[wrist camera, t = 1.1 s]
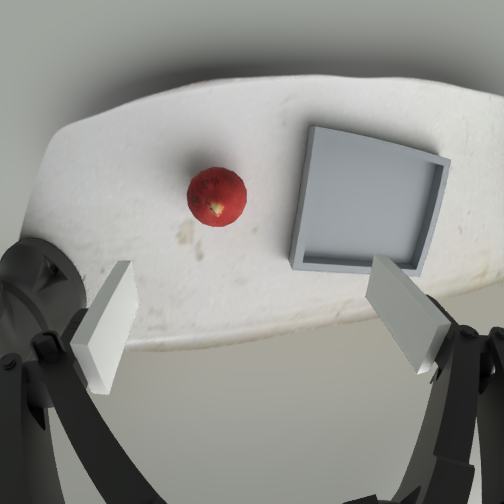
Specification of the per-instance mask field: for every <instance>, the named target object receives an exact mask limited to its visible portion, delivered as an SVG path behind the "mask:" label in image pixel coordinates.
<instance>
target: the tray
mask: <svg viewBox="0 0 504 504" xmlns="http://www.w3.org/2000/svg"><path fill="white" fill-rule="evenodd" d="M450 163H451V160H450V159H447V158H444V157H441V156H437V155H434V154H431V153H428V152H424V151H421V150H417V149H414V148H410V147H407V146H403V145H399V144H395V143H392V142H388V141H384V140H379V139H375V138H371V137H367V136H362V135H358V134H353V133H348V132H343V131H338V130H333V129H327V128H322V127H316V126H309V133H308V140H307V147H306V154H305V161H304V168H303V175H302V182H301V188H300V195H299V201H298V207H297V214H296V220H295V226H294V232H293V238H292V244H291V250H290V256H289V262H290V265H291V268H292V270H301V271H317V272H335V273H352V274H370V273H371V269H372V264H373V258H374V255H387V256H388V257H389V258H390V259H391V260H392V261H393V262H394V263H395V264H396V265H397V266H398V267H399V268H400V269H401V270H402V271H403V272H404V273H405V274H406V275H407V276H411V277H420V274H421V272H422V269H423V266H424V263H425V260H426V257H427V253H428V250H429V247H430V244H431V241H432V237H433V234H434V230H435V227H436V223H437V220H438V216H439V212H440V208H441V204H442V200H443V196H444V192H445V187H446V183H447V178H448V173H449V168H450Z"/></svg>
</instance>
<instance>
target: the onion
mask: <svg viewBox="0 0 504 504" xmlns="http://www.w3.org/2000/svg"><path fill="white" fill-rule="evenodd" d="M187 201H188V207H189V209H190V210H191V212H192V214H193V215H194V217H195V218H196V219H198V220H199V221H200V222H201V223H203V224H205V225H209V226H212V227H224V226H226V225H228V224H230V223H233V222H234V221H235V220H236V219H237V218H238V217H239V216H240V215H241V214H242V212H243V210H244V207H245V205H246V202H247V190H246V188H245V185H244V183H243V180H242V179H241V178H240V177H239V176H238V175H237V174H236V173H235V172H233V171H230V170H228V169H225V168H218V167H212V168H209V169H206V170H204V171H201V172H200V173H199V174H198V175H197V176H195V177H194V178H193V179H192V180H191V183H190V185H189V188H188V191H187Z"/></svg>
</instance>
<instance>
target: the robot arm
mask: <svg viewBox="0 0 504 504" xmlns="http://www.w3.org/2000/svg"><path fill="white" fill-rule="evenodd" d="M365 297H366V298H367V300H368V301H369V302H370V304H371V305H372V307H373V308H374V310H375V311H376V313H377V314H378V315H379V317H380V318H381V320H382V321H383V323H384V324H385V326H386V327H387V329H388V330H389V332H390V333H391V335H392V336H393V338H394V339H395V341H396V342H397V344H398V345H399V347H400V348H401V350H402V351H403V353H404V354H405V356H406V357H407V359H408V361H409V362H410V364H411V365H412V367H413V368H414V370H415V372H416V373H417V374H419V373H423V372H427V371H430V369H431V367H432V365H433V363H434V361H435V362H436V363H437V365H438V368H437V370H436V372H435V374H434V376H433V378H432V379H431V381H430V384H431V383H432V382H433V385H432V389H431V394H430V398H429V401H428V405H427V409H426V413H425V416H424V420H423V423H422V426H421V430H420V433H419V436H418V440H417V442H416V445H415V448H414V451H413V454H412V457H411V459H410V462H409V465H408V467H407V470H406V473H405V475H404V478H403V480H402V483H401V485H400V487H399V489H398V491H397V492H396V494H395V495H394V497H393V498H392V500H391V501H387V500H377V497H376V494H375V495H371V496H367V497H364V498H360V499H357V500H352V501H348V502H345V503H343V504H467V502H468V499H469V495H470V491H471V487H472V482H473V478H474V472H475V468H474V465H470V464H469V458H470V453H471V447H472V442H473V436H474V428H475V420H476V417H477V424H478V433H479V443H480V454H481V455H480V456H481V475H482V504H504V328H500V327H493V328H492V329H491V331H490V333H489V335H488V336H487V335H479V334H478V332H477V331H476V330H475V329H473V328H472V327H470V326H467V325H459V324H458V323H457V322H456V321H455V320H454V319H453V318H452V317H451V316H450V315H449V313H447V311H445V309H444V308H443V307H441V305H440V304H439V303H438V302H437V301H436V300H435V299H434V298H432V297H431V296H429V295H425V294H424V293H423V292H422V291H421V290H420V289H419V288H418V287H417V286H416V284H415V283H414V282H413V281H412V280H411V279H410V278H409V277H408V276H407V275H406V274H405V273H404V272H403V271H402V270H401V269H400V268H399V267H398V266H397V265H396V264H395V263H394V262H393V261H392V260H391V259H390V258H389V257H388V256H387V255H374V258H373V264H372V269H371V273H370V278H369V283H368V287H367V292H366V296H365ZM139 305H140V304H139V299H138V294H137V289H136V283H135V278H134V272H133V266H132V261H118V262H117V264H116V265H115V267H114V268H113V270H112V271H111V273H110V275H109V276H108V278H107V279H106V281H105V283H104V284H103V286H102V288H101V289H100V291H99V292H98V294H97V296H96V298H95V299H94V301H93V303H92V304H91V306H90V308H86V292H85V288H84V285H83V282H82V279H81V277H80V275H79V273H78V271H77V270H76V268H75V267H74V265H73V264H72V262H71V261H70V260H69V259H68V258H67V257H66V255H65V254H63V253H62V252H61V251H60V250H59V249H58V248H56V247H55V246H53V245H52V244H50V243H48V242H46V241H44V240H41V239H36V238H26V239H22V240H20V241H18V242H16V243H15V244H14V245H13V246H11V247H10V248H9V249H8V250H7V251H6V252H5V253H4V255H3V256H2V258H1V260H0V504H65V501H64V498H63V494H62V490H61V486H60V481H59V477H58V472H57V468H56V462H55V457H54V452H53V446H52V439H51V433H50V425H49V416H48V408H51V407H55V410H56V412H57V414H58V417H59V419H60V421H61V423H62V425H63V427H64V430H65V431H66V434H67V435H68V438H69V440H70V442H71V444H72V446H73V448H74V450H75V451H76V453H77V455H78V457H79V459H80V461H81V462H82V464H83V466H84V468H85V470H86V471H87V473H88V475H89V477H90V478H91V480H92V482H93V483H94V485H95V486H96V488H97V490H98V491H99V493H100V494H101V496H102V497H103V499H104V500H105V502H106V503H107V504H167V503H166V502H165V501H164V500H163V499H162V498H161V497H160V496H159V495H158V493H156V491H155V490H154V489H153V488H152V486H151V485H150V484H149V483H148V482H147V480H146V479H145V478H144V477H143V475H142V474H141V473H140V471H139V470H138V469H137V468H136V466H135V465H134V464H133V462H132V461H131V460H130V458H129V457H128V455H127V454H126V453H125V451H124V450H123V448H122V447H121V446H120V444H119V443H118V441H117V440H116V438H115V437H114V435H113V434H112V433H111V431H110V430H109V428H108V426H107V425H106V423H105V422H104V420H103V419H102V417H101V415H100V413H99V412H98V410H97V408H96V407H95V405H94V403H93V402H92V400H91V398H90V397H89V395H88V393H87V391H86V388H87V385H89V387H90V389H91V391H92V393H96V394H104V395H109V392H110V389H111V386H112V383H113V380H114V376H115V373H116V370H117V367H118V364H119V361H120V358H121V355H122V352H123V349H124V346H125V343H126V341H127V338H128V335H129V332H130V329H131V327H132V324H133V321H134V318H135V316H136V313H137V310H138V308H139ZM494 371H495V374H494Z"/></svg>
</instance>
